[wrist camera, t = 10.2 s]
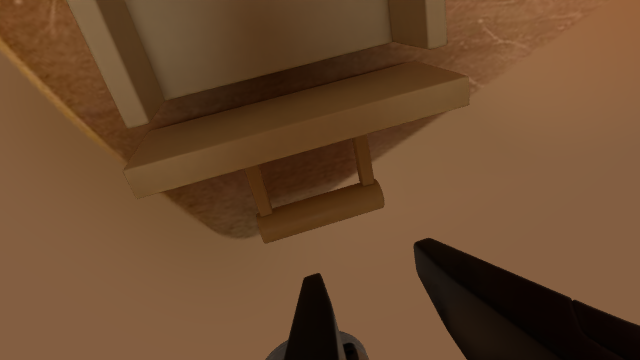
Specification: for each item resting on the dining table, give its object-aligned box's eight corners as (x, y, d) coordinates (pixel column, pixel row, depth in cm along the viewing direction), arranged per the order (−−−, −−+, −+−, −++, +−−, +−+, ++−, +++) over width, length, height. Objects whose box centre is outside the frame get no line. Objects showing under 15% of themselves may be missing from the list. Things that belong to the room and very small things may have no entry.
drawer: (424, 164, 21) (472, 204, 17) (194, 233, 20) (184, 294, 16) (387, -254, 14) (458, -373, 9) (5, -188, 12) (-115, -293, 8)
